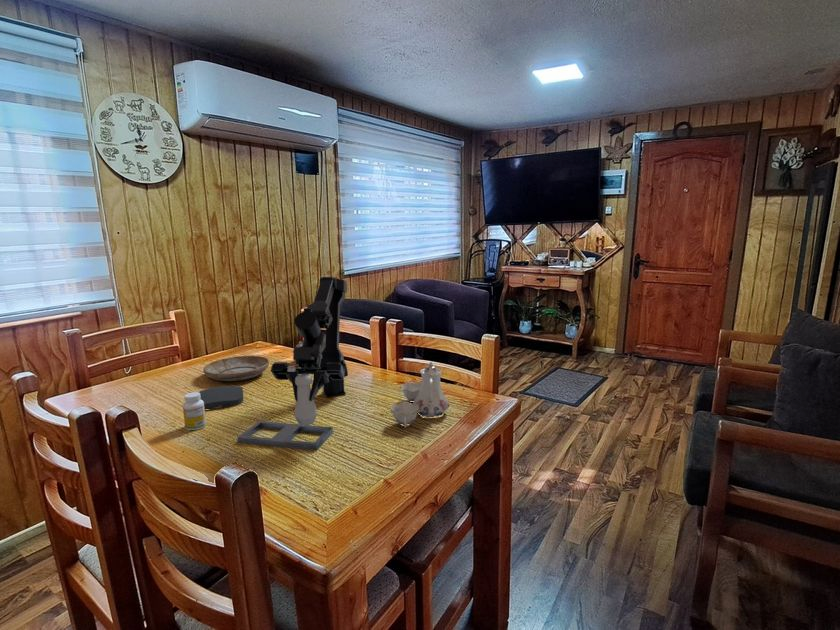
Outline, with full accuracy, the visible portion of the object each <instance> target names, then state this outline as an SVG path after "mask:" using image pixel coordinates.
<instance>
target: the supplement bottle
mask: <svg viewBox="0 0 840 630" xmlns="http://www.w3.org/2000/svg"><path fill="white" fill-rule="evenodd" d="M199 392H200V391H198V392H197V391H196V392H189V393H186V394H185V395H184V401H185V402H183V403H182V411H183V413H182V414H183V420H184V421H183V422H184V428H185V430H186V431H190V430H193V431H198V430H201V429H203V428H205V427H206V426H207V421H206V412H205V411H206V410H205V408H204V402H203V400H201V399H200V398H201V396H200V393H199Z"/></svg>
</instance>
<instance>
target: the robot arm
mask: <svg viewBox="0 0 840 630" xmlns="http://www.w3.org/2000/svg"><path fill="white" fill-rule="evenodd" d="M318 283H319V285H318V288H317V292H316V293H315V294H316V295H315V298H314V299H313V302H312V303H310V304H309V305H308V306H306V308H303V311H301V312H300V313H299V314H297V315H296V317H295V318H294V321H293V322H294V325H295V328H296V330H297V332H298V333H299V335H300V337H301V338H302V346H301V347H296V346H295V347H293V350H294V353H293V352H292V354H293V355H292V360H293V361H294V360H296V362H295V363H296V364H298V366H297V365H296V364H295V365H296V366H295V365H289V363H288V361H283V362H282V361H281V362H280V361H278V362H276V361H275V362H274V363H272V364H271V367H270V372H271V374H272V376H273V377H274V378H275V380H278V381H287V380H288V381H289V383H291V384H292V389H293V396H294V401H295V402H296V401H297V389H298V386H297V385H296V384H295V378H296V377H297V376H298V375H301V374H309V375H313V377H312V384H311V387H310V388H311V392H310V398H309V400H310V401H312V400H313V399H314V398H315V397H316V396H317V394H318V393H319V391H320V390H322V393H323V394H324V395H325V397H328V398H330V397H331V398H332V397H337V396H342V395H343V396H344V395H346V393H347V392H346V391H345V377H348V376H349V372H348V371H349V370H348V366H347V363H346V360H345V359H344V354H343V352H342V351H341V349H340V324H341V323H340V321H341V320H340V319H341V317H340V316H341V305H342V303H343V302H344V300H345V299H346V293H347V291H348V284H347V281H346V280H344V279H343V278H337V277H334V276H322V277H319V281H318ZM322 329H324V330H325V332H324V331H323V330H322ZM325 335H326V343H325V348H324V350H323V343H324V338H325ZM322 350H323V351H322ZM321 388H322V389H321Z"/></svg>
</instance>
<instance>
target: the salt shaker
mask: <svg viewBox="0 0 840 630" xmlns="http://www.w3.org/2000/svg"><path fill="white" fill-rule="evenodd" d="M295 384H296V385H297V386H298V389H297V401H295V405H294V406H295V407H294V418H295V420H296V422H297V424H300V425H312V424H314V423H315V421H316V419H317V415H318V409H317V407H316V402H315V400H314V399H313V400H312V401H310V400H309V398H310V392H311V388H312V387H311V385H312V384H313V377H312V375H311V374H300V375H298V376H297V377H296V378H295Z"/></svg>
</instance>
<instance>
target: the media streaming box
mask: <svg viewBox="0 0 840 630" xmlns="http://www.w3.org/2000/svg"><path fill="white" fill-rule="evenodd" d="M243 388H244V387H242V386H238V385H221V386H214V387H209V388H206V389H204V390H201V391H200V390H199V391H198V392H199V393H200V396H201V398H200V399H201V400H203V402H204V408H205V409H211V410H217V409H216V408H219V409H224V408H225V407H226V408H231V407H235V406H236V407H237V406H238V405H242V404H243V402H244V389H243Z"/></svg>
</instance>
